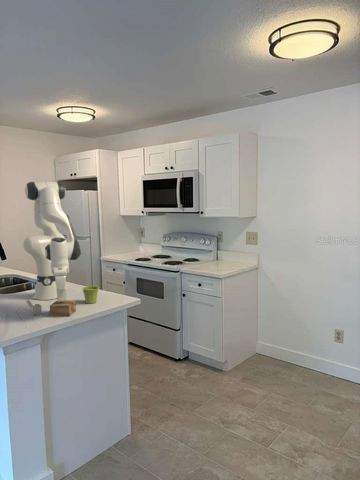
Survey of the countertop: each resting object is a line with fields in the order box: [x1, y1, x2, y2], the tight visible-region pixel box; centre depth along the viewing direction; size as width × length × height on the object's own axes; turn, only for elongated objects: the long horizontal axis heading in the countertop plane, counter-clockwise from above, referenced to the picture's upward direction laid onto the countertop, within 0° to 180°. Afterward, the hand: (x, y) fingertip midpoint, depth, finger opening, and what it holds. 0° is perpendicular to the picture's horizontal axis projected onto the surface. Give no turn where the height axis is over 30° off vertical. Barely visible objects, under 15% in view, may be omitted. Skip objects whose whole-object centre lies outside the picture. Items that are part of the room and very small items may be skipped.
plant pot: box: [81, 285, 100, 305], centre depth 208 cm, size 9×9×9 cm
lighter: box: [25, 299, 43, 316], centre depth 188 cm, size 7×2×8 cm, turn 111°
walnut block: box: [49, 299, 77, 318], centre depth 188 cm, size 10×10×6 cm
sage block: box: [56, 286, 67, 301], centre depth 188 cm, size 4×4×6 cm
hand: (61, 295), depth 188 cm, fingers closed on sage block, 4 cm apart
